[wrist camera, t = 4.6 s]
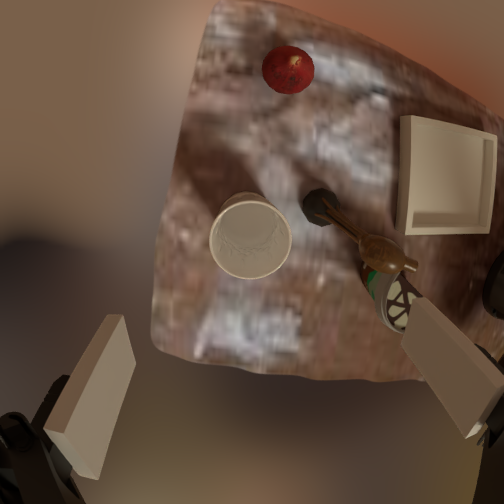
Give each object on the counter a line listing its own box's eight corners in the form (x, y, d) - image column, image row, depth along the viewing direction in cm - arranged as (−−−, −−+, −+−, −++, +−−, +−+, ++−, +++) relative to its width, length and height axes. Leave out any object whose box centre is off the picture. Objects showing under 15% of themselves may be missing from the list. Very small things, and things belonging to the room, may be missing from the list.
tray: (485, 134, 36) (497, 135, 33) (478, 228, 41) (489, 233, 38) (399, 116, 35) (410, 115, 32) (394, 228, 40) (405, 234, 37)
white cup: (230, 176, 37) (228, 187, 27) (287, 201, 38) (305, 220, 29) (205, 233, 39) (196, 262, 30) (261, 256, 40) (270, 290, 31)
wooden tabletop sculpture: (349, 200, 39) (439, 250, 20) (336, 231, 40) (412, 304, 21) (310, 183, 38) (381, 222, 19) (296, 216, 39) (352, 283, 20)
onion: (302, 102, 34) (320, 92, 27) (256, 94, 33) (262, 81, 26) (308, 60, 32) (326, 41, 25) (262, 52, 32) (270, 30, 24)
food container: (335, 274, 42) (361, 310, 33) (363, 241, 41) (397, 269, 31) (386, 315, 45) (414, 351, 36) (411, 286, 44) (444, 317, 34)
